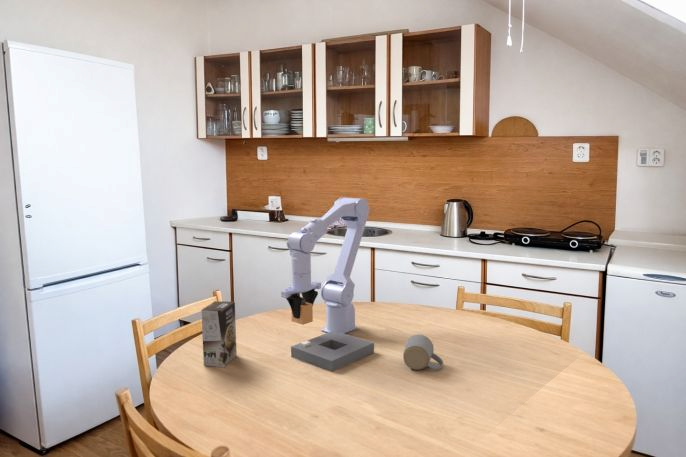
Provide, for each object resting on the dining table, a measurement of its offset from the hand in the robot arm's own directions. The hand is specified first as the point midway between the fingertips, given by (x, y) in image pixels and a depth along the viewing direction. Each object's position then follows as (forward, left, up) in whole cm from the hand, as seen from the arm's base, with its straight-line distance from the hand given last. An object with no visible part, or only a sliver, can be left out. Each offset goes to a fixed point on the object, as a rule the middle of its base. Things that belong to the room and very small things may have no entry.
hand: (302, 316), depth 162 cm
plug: (0, 0, -2) cm, 2 cm away
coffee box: (+24, -8, -9) cm, 27 cm away
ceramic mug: (-10, +37, -9) cm, 39 cm away
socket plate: (0, +13, -9) cm, 15 cm away
